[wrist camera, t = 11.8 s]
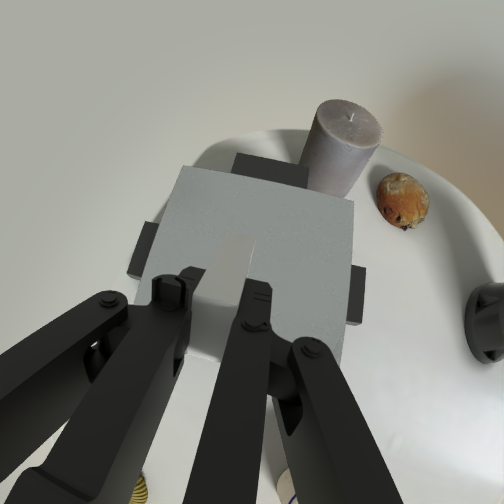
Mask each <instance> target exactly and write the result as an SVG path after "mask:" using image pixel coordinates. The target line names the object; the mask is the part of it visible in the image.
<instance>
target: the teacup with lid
mask: <svg viewBox="0 0 504 504" xmlns="http://www.w3.org/2000/svg"><path fill="white" fill-rule="evenodd" d="M277 494H278V496H279V499H280V501H281V504H298V501H297V497H296V494H295V490H294V486H293V482H292V478H291V474H290V470H289V467H288V468H287V469H286V470H285V471H284V472H283V473H282V475H281V476H280V478H279V480H278V483H277Z"/></svg>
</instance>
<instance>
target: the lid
mask: <svg viewBox="0 0 504 504" xmlns="http://www.w3.org/2000/svg"><path fill="white" fill-rule="evenodd" d="M308 176H309V168H308V167H304V166H300V165H295V164H291V163H287V162H282V161H277V160H273V159H268V158H263V157H258V156H253V155H247V154H242V153H237V155H236V158H235V161H234V164H233V167H232V170H231V173H226V172H220V171H214V170H208V169H202V168H196V167H190V166H183V167H182V169H181V171H180V174H179V176H178V179H177V181H176V184H175V186H174V188H173V191H172V193H171V196H170V198H169V201H168V203H167V206H166V209H165V211H164V214H163V217H162V219H161V222H160V225H159V227H158V230H157V233H156V236H155V239H154V241H153V244H152V247H151V250H150V253H149V256H148V259H147V262H146V265H145V268H144V271H143V275H142V278H141V281H140V284H139V288H138V291H137V294H136V298H135V301H134V305H148V304H149V303H150V301H151V292H152V279H153V278H154V277H156V276H159V275H162V274H172V275H179V274H180V272H181V271H182V270H183V269H185V268H187V267H189V266H193V267H197V268H201V269H206V270H207V268H208V266H209V264H210V263H211V261H212V259H213V257H214V255H215V254H216V252H217V250H218V248H219V247H220V245H221V243H222V241H223V240H224V238H225V236H226V234H227V233H228V232H231V233H236V234H241V235H245V236H250V237H255V238H256V240H255V244H254V249H253V254H252V259H251V263H250V268H249V273H248V277H247V278H249V279H254V280H259V281H263V282H268V283H269V284H270V286H271V288H272V289H273V291H272V305H271V318H270V324H271V326H272V330H273V331H274V332H275V333H276V334H277V335H278V336H280V337H281V338H283V339H285V340H287V341H290V342H292V343H293V342H294V340H295V339H297V338H299V337H305V336H307V337H314V338H316V339H319V340H321V341H322V342H324V343H325V344H327V346H328V347H329V348H330V350H331V352H332V354H333V356H334V358H335V360H336V362H337V364H338V366H339V367H340V360H341V354H342V347H343V340H344V333H345V325H346V316H347V307H348V298H349V287H350V275H351V261H352V244H353V218H354V201H351V200H347V199H343V198H339V197H336V196H332V195H328V194H324V193H320V192H316V191H311V190H307V185H308ZM187 352H188V347H187V349H186V351H185V354H187Z"/></svg>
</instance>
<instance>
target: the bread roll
mask: <svg viewBox="0 0 504 504" xmlns="http://www.w3.org/2000/svg"><path fill="white" fill-rule="evenodd" d="M377 201H378V207H379V210H380V211H381V213H382V215H383V216H384V218H385V219H386V220H387V221H388V222H389V223H390V224H392V225H394V226H396V227H399V228H402V229H403V230H404V231H406V229H408V228H413V229H415V228H416V227H417V224H418V223H420V222H421V221H424V218H425V215H426V214H427V211H428V207H429V197H428V194H427V192H426V190H425V188H424V187H423V186H422V185H421V184H420V183H419V182H418V181H417V180H416V179H414V178H413V177H411V176H409V175H407V174H404V173H393V174H390V175H388V176H386V177H385V178H384V179H383V180H382V181H381V182H380V184H379V186H378V189H377Z"/></svg>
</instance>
